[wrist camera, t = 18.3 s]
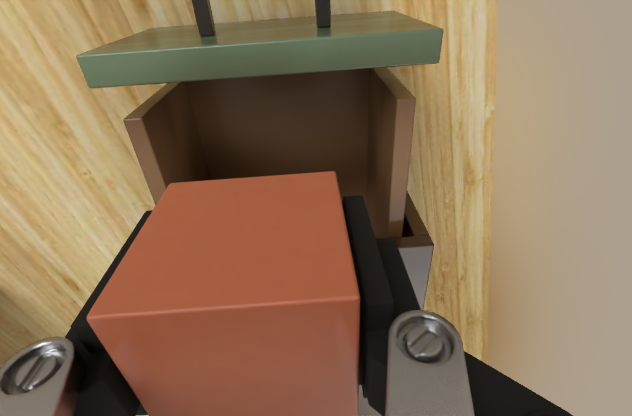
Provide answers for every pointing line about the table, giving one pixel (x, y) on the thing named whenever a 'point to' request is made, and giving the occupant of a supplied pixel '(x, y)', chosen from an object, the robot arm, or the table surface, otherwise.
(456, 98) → the table surface
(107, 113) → the table surface
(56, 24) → the table surface
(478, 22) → the table surface
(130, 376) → the block
